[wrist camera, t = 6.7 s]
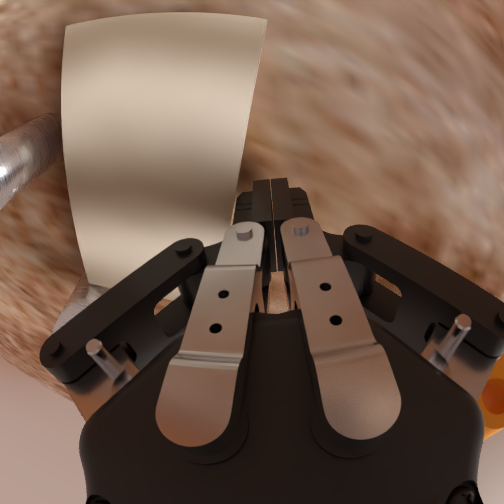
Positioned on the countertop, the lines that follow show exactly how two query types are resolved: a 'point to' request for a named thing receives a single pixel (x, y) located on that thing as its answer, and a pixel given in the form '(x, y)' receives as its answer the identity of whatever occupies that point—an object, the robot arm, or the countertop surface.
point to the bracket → (493, 400)
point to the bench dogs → (30, 168)
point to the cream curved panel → (154, 131)
